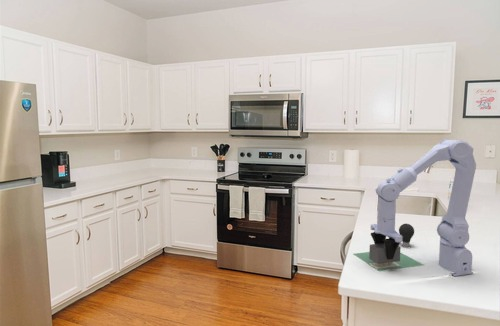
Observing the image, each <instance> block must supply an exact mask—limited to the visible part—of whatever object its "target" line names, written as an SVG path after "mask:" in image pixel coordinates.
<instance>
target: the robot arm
mask: <svg viewBox="0 0 500 326" xmlns="http://www.w3.org/2000/svg"><path fill="white" fill-rule="evenodd" d="M442 161H443V162H444V161H449V162H450V163H451V165H452V166H453V167H454V168H455V172H454V173H455V174H454V177H453V178H454V179H453V181H452V182H453V183H452V187H451V192H450V197H449V201H448V206H447V211H446V213H445V214H444V215H443V216H442V217H441V221H440V222H439V224H438V225H437V226H436V232H437V235H438V236H439V237H440V238H439V248H438V249H439V252H438V266H439V267H441V268H443V269H446V270H449V271H450V272H452V273H450V275H451V276H452V277H458V276H465V275H472V274H474V272H473V271H472V270H473V269H472V268H473V266H472V265H473V253H472V251H471V250H469V249H468V248H467V247H466V245H467V244H468V242H469V240H470V234H469V227H470V226H469V223H468V221H467V219H466V215H467V212H468V206H469V202H470V199H471V198H470V197H471V193H472V188H473V183H474V178H475V173H476V170H477V164H476V160H475V156H474V147H473V146H472V145H470V144H469V142H468V141H465V140H463V139H461V140H457V139H456V140H455V139H449V138H445V139H443V140H441V141H440V142H439V143H437V144H435V145H434V146H433V147H432V148H431V149H430V150H429V151H427V152H426V154H424V155H423V156H422V157H421V158H419V159H418V160H416V162H414V163H413V164H412V165H411V166H410V167H402V168H400V167H399V168H398V169H397V172H396V173H395V174H393V175H392V176H391V177H387V178H385V180H386V181H381V182H380V183H378V185H377V187H376V189H375V193H376V196H377V213H376V215H377V217H376V219H377V221H376V223H374V224H373V223H372V224H370V230H371V231H373V232H370V236H371V238H372V241H373V244H380V243H385V247H386V257H387V259H388V260H389V259H393V257H394V254H395V252H396V249H397V247H398V246H399V247H400V245H401V244H402V243H403V241H402V236H401V235H400V234H399V232H398V231H397V230H396V211H397V210H396V208H397V205H396V204H397V199H398V198H399V196H400V194H401V192H403V191H404V190H406V189H407V188H409V186H411V185H413V183H415V182H417V177H418V175H419V174H421V173H423V172H424V171H425V170H427V169H428V168H430V167H432V165H434V164H436V163H437V162H442Z"/></svg>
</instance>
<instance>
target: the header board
mask: <svg viewBox="0 0 500 326" xmlns="http://www.w3.org/2000/svg"><path fill="white" fill-rule="evenodd" d="M369 252H370V251H367V252H357V253H353V255H354V256H356V257H357V258H358V259H360V260H362V261H363V262H364V263H366V264H367V265H369V266H370V267H372V268H374V269H375V270H376V271H378V272H382V271H383V272H384V271H391V270H396V269H397V270H398V269H406V268H414V267H421V266H424V264H423V263H421V262H420V261H417V260H416V259H414V258H412V257H410V256H409V255H407V254H404V253H402V252H400V261H398V262H390V263H382V264H377V263H376V262H374V261H373V260H371V259H369Z"/></svg>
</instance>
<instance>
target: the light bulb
mask: <svg viewBox="0 0 500 326" xmlns="http://www.w3.org/2000/svg"><path fill="white" fill-rule="evenodd" d="M398 234H399V235H401V236H402V246H403V247H405V248H406V247H407V248H409V247H410V243H411V240H412V238H413V237H414V235H415V228H414V227H413V226H412V225H411V224H409V223H402V224H401V225H400V226H399V227H398Z"/></svg>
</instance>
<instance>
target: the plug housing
mask: <svg viewBox="0 0 500 326" xmlns="http://www.w3.org/2000/svg"><path fill="white" fill-rule="evenodd" d="M368 252H369V259H371V260H373V261H374V262H376V263H377V264H382V263H390V262H398V261H400V253H401V246H400V245H399V246H398V247H397V249H396V252H395V254H394V257H393V259H389V260H388V259H387V257H386V247H385V243H380V244H375V243H373V244H369V251H368Z"/></svg>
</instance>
